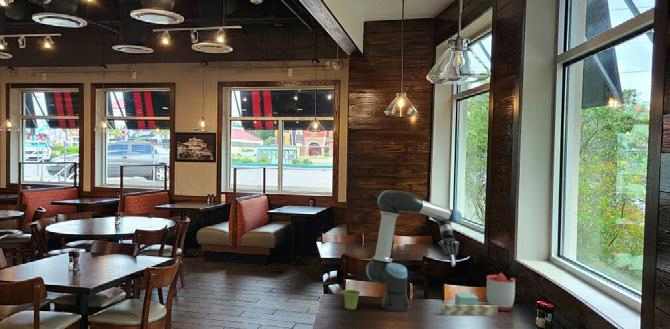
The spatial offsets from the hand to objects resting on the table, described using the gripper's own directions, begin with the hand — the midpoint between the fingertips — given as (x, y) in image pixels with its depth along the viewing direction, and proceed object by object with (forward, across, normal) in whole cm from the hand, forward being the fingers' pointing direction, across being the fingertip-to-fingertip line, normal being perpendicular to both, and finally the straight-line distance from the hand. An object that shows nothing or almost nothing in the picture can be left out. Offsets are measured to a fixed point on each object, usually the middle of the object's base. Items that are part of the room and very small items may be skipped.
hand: (453, 265), depth 268 cm
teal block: (+31, -1, +1) cm, 31 cm away
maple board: (+34, -1, +5) cm, 34 cm away
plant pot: (+30, +62, -1) cm, 69 cm away
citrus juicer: (+24, -24, -5) cm, 34 cm away
